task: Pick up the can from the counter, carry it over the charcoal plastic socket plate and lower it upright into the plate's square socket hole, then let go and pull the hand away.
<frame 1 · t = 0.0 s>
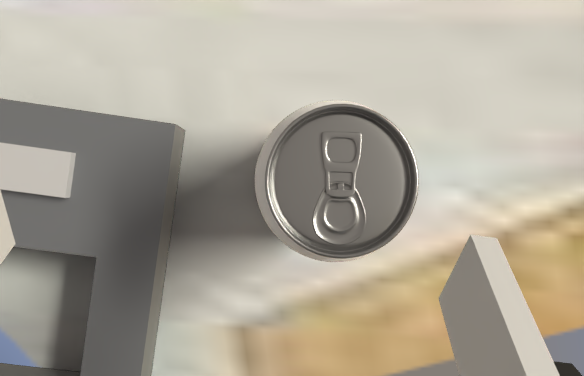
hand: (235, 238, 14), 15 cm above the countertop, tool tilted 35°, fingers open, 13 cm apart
can: (310, 181, 29), on the countertop
socket plate: (47, 262, 28), on the countertop
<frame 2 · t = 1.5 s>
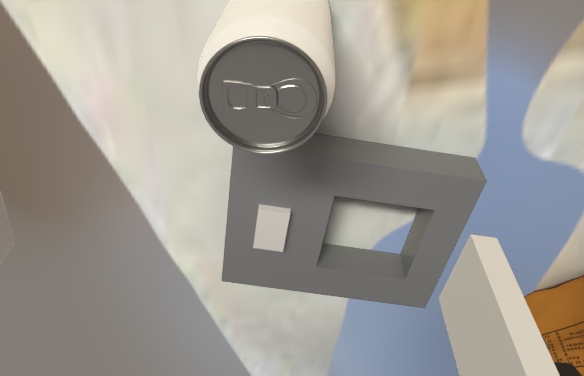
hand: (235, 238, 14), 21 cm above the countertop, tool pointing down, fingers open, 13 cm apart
can: (280, 16, 30), on the countertop
coffee package: (561, 314, 46), on the countertop
socket plate: (339, 211, 39), on the countertop
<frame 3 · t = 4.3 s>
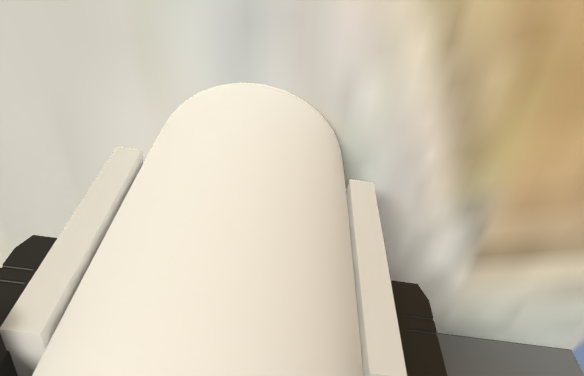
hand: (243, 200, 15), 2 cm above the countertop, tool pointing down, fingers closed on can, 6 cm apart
can: (252, 159, 17), on the countertop, touching gripper
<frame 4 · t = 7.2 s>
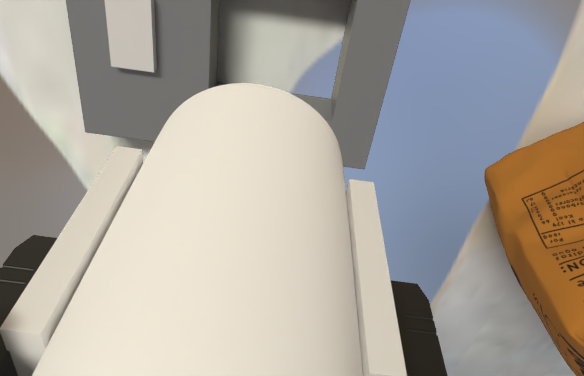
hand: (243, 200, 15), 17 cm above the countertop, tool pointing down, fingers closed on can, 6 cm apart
can: (252, 159, 17), point 15 cm above the countertop, touching gripper
coffee package: (551, 193, 35), on the countertop
socket plate: (240, 27, 29), on the countertop
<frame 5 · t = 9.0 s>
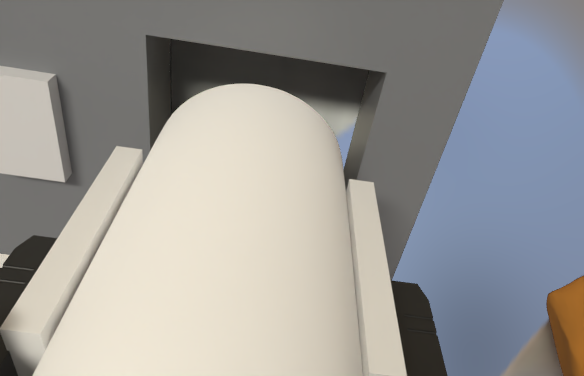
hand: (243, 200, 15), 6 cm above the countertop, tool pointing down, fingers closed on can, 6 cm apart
can: (252, 159, 17), point 3 cm above the countertop, touching gripper
socket plate: (202, 106, 19), on the countertop
when the fingers open (4 cm above the countertop, at t = 10.4 s): can drops 1 cm, resting in socket plate.
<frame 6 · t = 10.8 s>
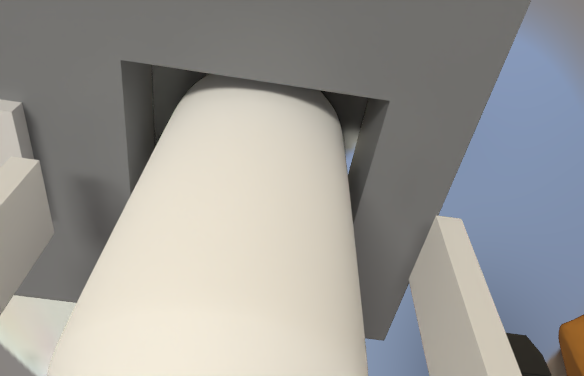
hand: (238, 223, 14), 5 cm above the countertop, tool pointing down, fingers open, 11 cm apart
can: (258, 138, 18), resting in socket plate
socket plate: (188, 131, 18), on the countertop
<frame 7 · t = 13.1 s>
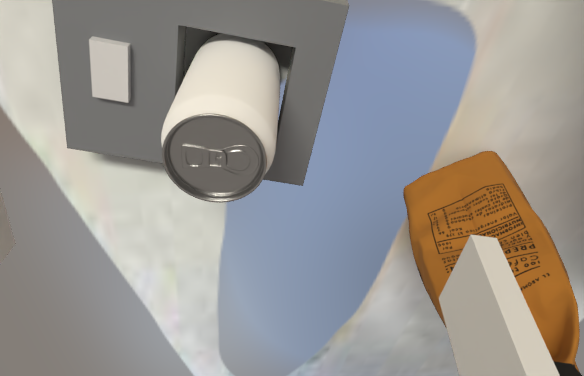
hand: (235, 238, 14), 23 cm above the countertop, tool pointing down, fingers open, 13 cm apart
can: (237, 72, 35), resting in socket plate
coffee package: (460, 208, 43), on the countertop
socket plate: (201, 66, 35), on the countertop
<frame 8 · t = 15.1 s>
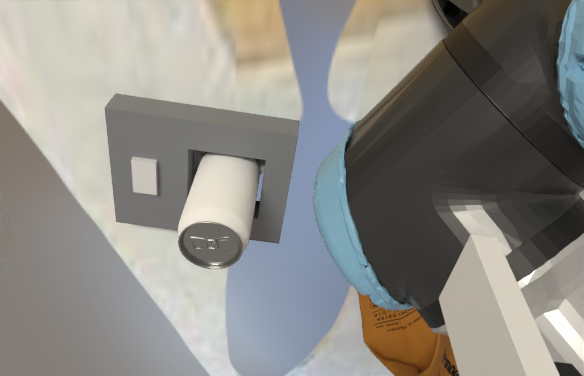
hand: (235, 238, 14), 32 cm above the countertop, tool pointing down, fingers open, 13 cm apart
can: (230, 168, 51), resting in socket plate
coffee package: (400, 253, 57), on the countertop
socket plate: (205, 165, 51), on the countertop
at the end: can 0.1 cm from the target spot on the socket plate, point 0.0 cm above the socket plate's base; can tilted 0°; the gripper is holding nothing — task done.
